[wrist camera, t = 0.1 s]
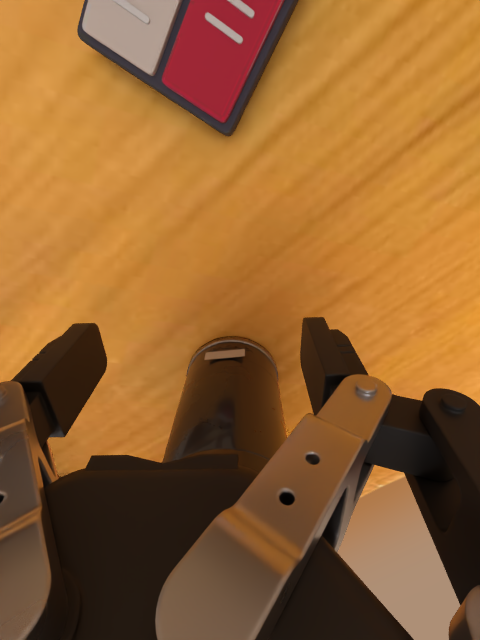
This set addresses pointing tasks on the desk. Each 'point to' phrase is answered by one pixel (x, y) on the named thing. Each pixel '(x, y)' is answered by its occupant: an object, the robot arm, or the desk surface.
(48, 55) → the desk surface
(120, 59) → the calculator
